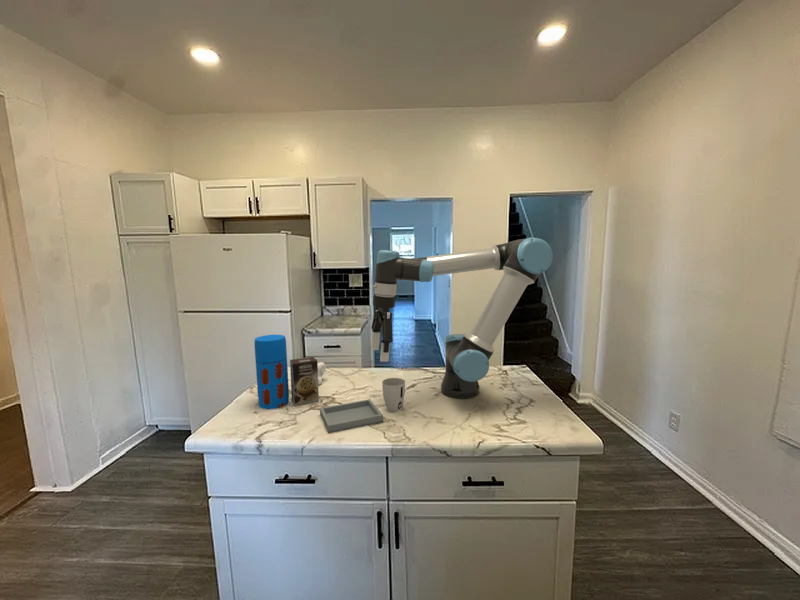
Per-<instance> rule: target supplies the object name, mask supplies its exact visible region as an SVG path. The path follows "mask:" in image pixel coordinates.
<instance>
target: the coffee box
mask: <svg viewBox="0 0 800 600" xmlns="http://www.w3.org/2000/svg"><path fill="white" fill-rule="evenodd" d="M317 363H318V360H317V359H316V357H315V356H311V357H310V356H309V357H302V358H296V359H295V358H294V359H290V360H289V365H290V366H289V367H290V390H291V392H290V393H291V394H290V395H291V396H290V397H291V402H292V404H293V406H294V407H299V406H304V405H308V404H314V403H315V404H316V403H318V402H320V398H319V396H320V395H319V393H320V392H319V385H318V364H317Z"/></svg>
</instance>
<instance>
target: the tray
mask: <svg viewBox="0 0 800 600" xmlns="http://www.w3.org/2000/svg"><path fill="white" fill-rule="evenodd" d="M319 414H320V418H321V420H322V422H323V424H324V427H325V429H326V432H327V434H332V433H338V432H342V431H347V430H352V429H357V428H362V427H366V426H371V425H372V426H373V425H377V424H381V423H384V414H383V413H382V412H381V411H380V409H379V408H378V407H377V406H376V405H375V403H374V402H373V401H372V400H371V398H368V399H364V400H363V399H362V400H359V401H358V400H356V401H352V402H347V403H340V404H336V405H329V406H323V407H320V408H319Z"/></svg>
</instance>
